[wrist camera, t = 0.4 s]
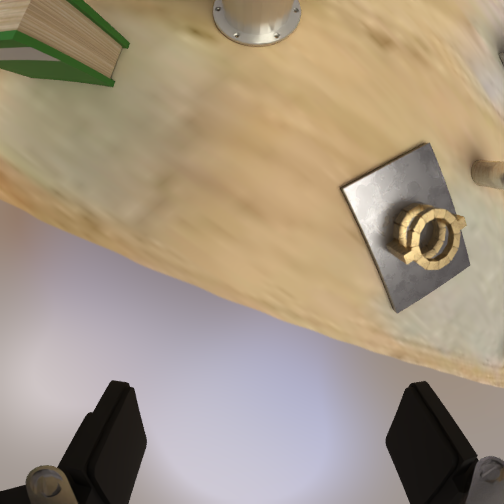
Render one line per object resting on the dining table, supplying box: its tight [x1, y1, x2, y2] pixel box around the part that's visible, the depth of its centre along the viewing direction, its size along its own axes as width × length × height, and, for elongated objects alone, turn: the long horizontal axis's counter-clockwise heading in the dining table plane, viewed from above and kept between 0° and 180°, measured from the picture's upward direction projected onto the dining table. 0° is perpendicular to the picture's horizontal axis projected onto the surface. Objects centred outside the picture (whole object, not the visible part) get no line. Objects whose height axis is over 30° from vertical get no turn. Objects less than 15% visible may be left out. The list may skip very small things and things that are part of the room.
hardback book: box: [0, 0, 130, 87], centre depth 26 cm, size 18×7×24 cm, turn 72°
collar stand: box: [340, 143, 470, 313], centre depth 41 cm, size 22×16×8 cm
